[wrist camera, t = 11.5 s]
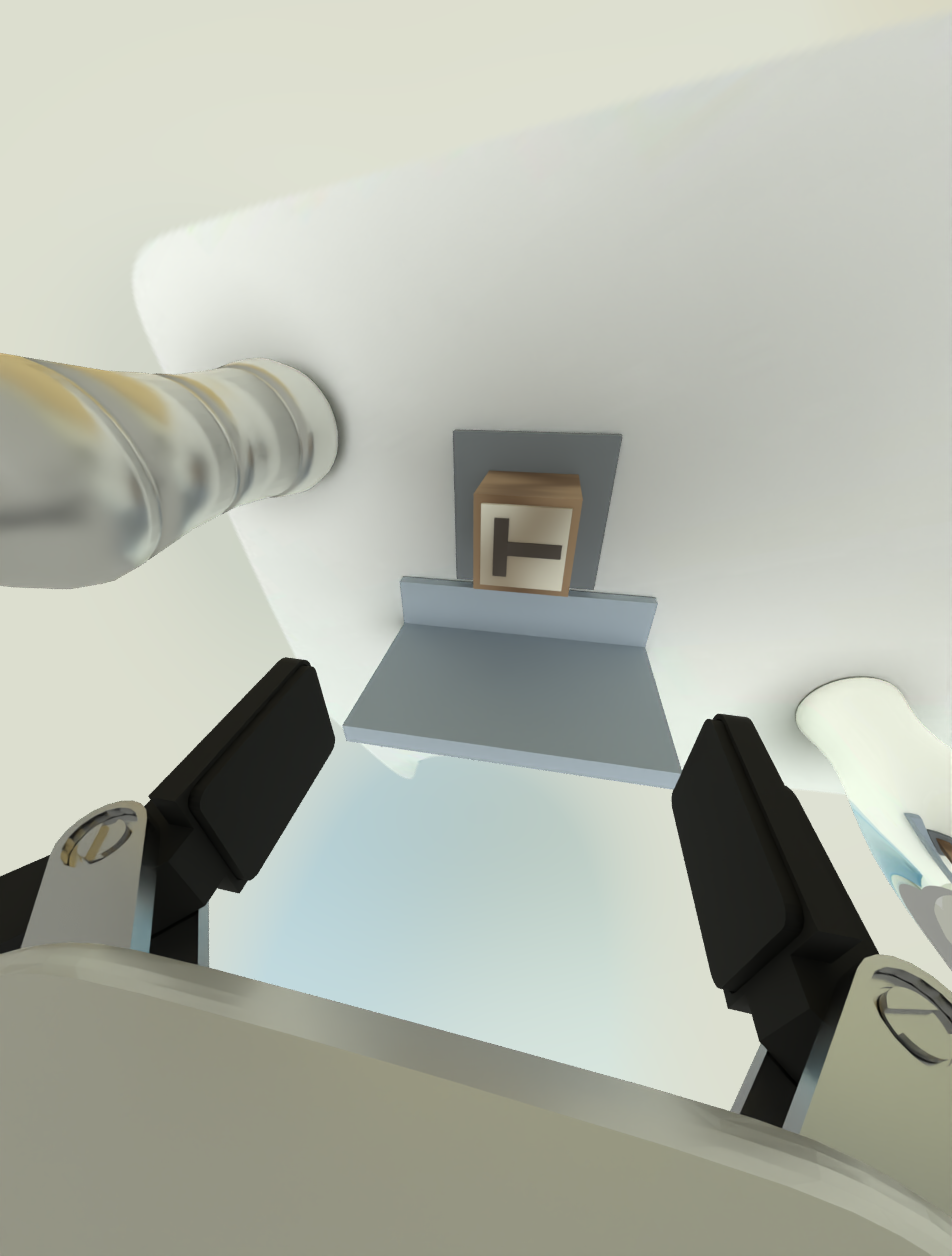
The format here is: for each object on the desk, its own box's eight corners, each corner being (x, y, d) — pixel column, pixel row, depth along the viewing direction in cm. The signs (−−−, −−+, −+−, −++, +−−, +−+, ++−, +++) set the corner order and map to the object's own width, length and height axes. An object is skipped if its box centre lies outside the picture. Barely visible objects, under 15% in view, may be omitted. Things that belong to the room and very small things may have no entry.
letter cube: (578, 474, 22) (583, 501, 18) (566, 558, 25) (568, 599, 21) (489, 470, 23) (472, 495, 18) (487, 552, 26) (472, 591, 21)
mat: (620, 434, 21) (622, 435, 21) (592, 585, 26) (593, 589, 26) (455, 429, 23) (452, 431, 22) (458, 574, 27) (456, 578, 27)
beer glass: (792, 751, 31) (947, 1010, 18) (782, 685, 28) (959, 940, 15) (908, 734, 28) (1181, 1023, 16) (911, 659, 25) (1250, 942, 13)
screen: (655, 597, 26) (706, 723, 17) (639, 654, 28) (675, 789, 19) (403, 576, 28) (329, 676, 19) (409, 630, 31) (346, 740, 22)
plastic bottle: (243, 454, 25) (-333, 616, 9) (254, 333, 22) (-707, 237, 5) (337, 501, 26) (-42, 733, 10) (364, 392, 22) (-188, 470, 6)
